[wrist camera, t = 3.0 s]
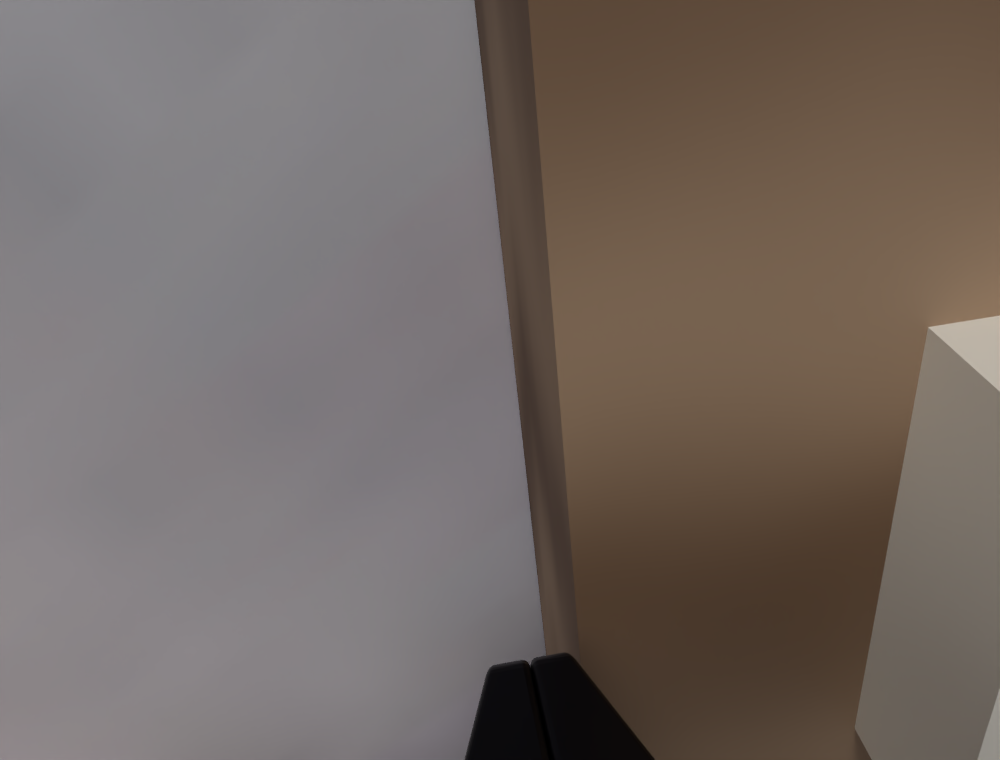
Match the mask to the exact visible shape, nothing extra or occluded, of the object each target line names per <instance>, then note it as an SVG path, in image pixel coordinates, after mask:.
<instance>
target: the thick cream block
mask: <svg viewBox="0 0 1000 760" xmlns="http://www.w3.org/2000/svg"><path fill="white" fill-rule="evenodd" d="M855 730H856V732H857V734H858V735H859V737H860V739H861V741H862V743H863V745H864V746H865V748H866V750H867V752H868V754H869V756H870V757H871V759H872V760H1000V316H994V317H988V318H981V319H975V320H969V321H963V322H957V323H951V324H945V325H938V326H932V327H928V331H927V336H926V342H925V347H924V352H923V358H922V363H921V369H920V374H919V380H918V385H917V391H916V396H915V401H914V407H913V412H912V418H911V423H910V429H909V434H908V440H907V445H906V450H905V456H904V461H903V467H902V472H901V478H900V483H899V489H898V494H897V500H896V505H895V510H894V516H893V521H892V527H891V532H890V538H889V543H888V549H887V554H886V559H885V565H884V570H883V576H882V581H881V587H880V592H879V598H878V603H877V608H876V614H875V619H874V625H873V630H872V636H871V641H870V647H869V652H868V658H867V663H866V668H865V674H864V679H863V685H862V690H861V696H860V701H859V707H858V712H857V717H856V723H855Z"/></svg>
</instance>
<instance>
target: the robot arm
mask: <svg viewBox="0 0 1000 760" xmlns="http://www.w3.org/2000/svg"><path fill="white" fill-rule="evenodd" d="M465 760H655V759H654V757H653V756H652V755H651V753H650V752H649V751H648V750H647V748H646V747H645V746H644V745H643V743H642V742H641V741H640V740H639V738H638V737H637V736H636V735H635V733H634V732H633V731H632V730H631V728H630V727H629V726H628V724H627V723H626V722H625V721H624V719H623V718H622V717H621V716H620V714H619V713H618V712H617V711H616V709H615V708H614V707H613V706H612V704H611V703H610V702H609V700H608V699H607V698H606V697H605V695H604V694H603V693H602V692H601V690H600V689H599V688H598V687H597V685H596V684H595V683H594V682H593V680H592V679H591V678H590V677H589V675H588V674H587V673H586V671H585V670H584V669H583V668H582V666H581V665H580V664H579V663H578V661H577V660H576V659H575V658H574V657H573V656H572V655H571V654H569V653H565V652H563V653H557V654H552V655H546V656H541V657H536V658H534V659H533V660H532V662H531V668H530V665H529V663H528V662H526V661H524V660H519V661H514V662H508V663H503V664H497V665H493V666H492V667H490V668H489V670H488V672H487V674H486V678H485V682H484V686H483V690H482V694H481V698H480V701H479V705H478V709H477V713H476V717H475V721H474V725H473V729H472V733H471V737H470V741H469V745H468V749H467V752H466V756H465Z"/></svg>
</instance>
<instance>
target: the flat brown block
mask: <svg viewBox="0 0 1000 760" xmlns="http://www.w3.org/2000/svg"><path fill="white" fill-rule="evenodd" d="M475 9H476V18H477V27H478V36H479V45H480V54H481V63H482V72H483V82H484V91H485V100H486V109H487V118H488V127H489V136H490V145H491V155H492V164H493V173H494V182H495V191H496V200H497V209H498V218H499V228H500V237H501V246H502V255H503V264H504V273H505V282H506V292H507V301H508V310H509V319H510V328H511V337H512V346H513V355H514V365H515V374H516V383H517V392H518V401H519V410H520V419H521V428H522V438H523V447H524V456H525V465H526V474H527V483H528V492H529V502H530V511H531V520H532V529H533V538H534V547H535V556H536V565H537V575H538V584H539V593H540V602H541V611H542V620H543V629H544V638H545V648H546V655H552V654H557V653H563V652H565V653H569V654H571V655H572V656H573V657H574V658H575V659H576V660H577V661H578V663H579V664H580V665H581V666H582V668H583V669H584V670H585V671H586V673H587V674H588V675H589V677H590V678H591V679H592V680H593V682H594V683H595V684H596V685H597V687H598V688H599V689H600V690H601V692H602V693H603V694H604V695H605V697H606V698H607V699H608V700H609V702H610V703H611V704H612V706H613V707H614V708H615V709H616V711H617V712H618V713H619V714H620V716H621V717H622V718H623V719H624V721H625V722H626V723H627V724H628V726H629V727H630V728H631V730H632V731H633V732H634V733H635V735H636V736H637V737H638V738H639V740H640V741H641V742H642V743H643V745H644V746H645V747H646V748H647V750H648V751H649V752H650V753H651V755H652V756H653V757H654V759H655V760H872V759H871V757H870V756H869V754H868V752H867V750H866V748H865V746H864V745H863V743H862V741H861V739H860V737H859V735H858V734H857V732H856V730H855V723H856V717H857V712H858V707H859V701H860V696H861V690H862V685H863V679H864V674H865V668H866V663H867V658H868V652H869V647H870V641H871V636H872V630H873V625H874V619H875V614H876V608H877V603H878V598H879V592H880V587H881V581H882V576H883V570H884V565H885V559H886V554H887V549H888V543H889V538H890V532H891V527H892V521H893V516H894V510H895V505H896V500H897V494H898V489H899V483H900V478H901V472H902V467H903V461H904V456H905V450H906V445H907V440H908V434H909V429H910V423H911V418H912V412H913V407H914V401H915V396H916V391H917V385H918V380H919V374H920V369H921V363H922V358H923V352H924V347H925V342H926V336H927V331H928V327H932V326H938V325H945V324H951V323H957V322H963V321H969V320H975V319H981V318H988V317H994V316H1000V0H475Z"/></svg>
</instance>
